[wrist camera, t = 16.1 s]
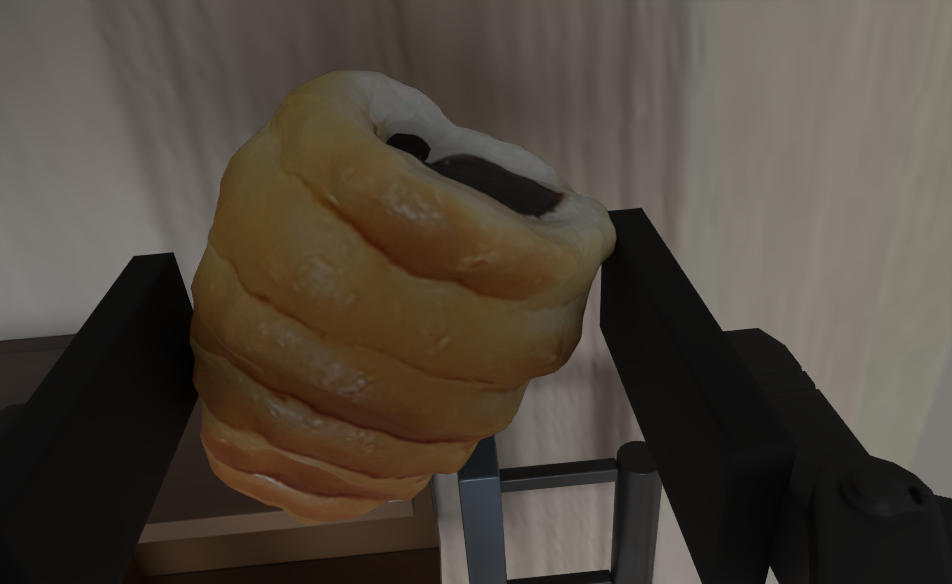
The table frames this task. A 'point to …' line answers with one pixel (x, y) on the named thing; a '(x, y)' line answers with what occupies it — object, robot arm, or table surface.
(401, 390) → the pastry
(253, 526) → the drawer
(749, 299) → the table surface
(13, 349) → the cabinet
